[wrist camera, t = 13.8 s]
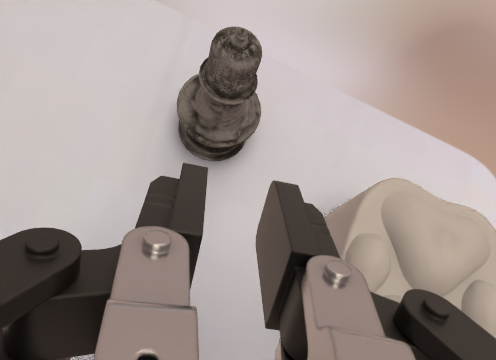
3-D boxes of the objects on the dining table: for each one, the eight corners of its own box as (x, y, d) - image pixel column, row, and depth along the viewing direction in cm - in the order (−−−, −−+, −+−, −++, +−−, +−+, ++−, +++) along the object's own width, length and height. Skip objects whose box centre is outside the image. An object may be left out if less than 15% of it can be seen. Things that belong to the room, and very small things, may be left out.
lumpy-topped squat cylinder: (444, 245, 34) (535, 220, 26) (411, 421, 29) (509, 459, 21) (325, 194, 33) (380, 152, 25) (271, 366, 28) (317, 383, 20)
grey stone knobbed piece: (223, 179, 32) (260, 102, 20) (158, 134, 32) (160, 32, 21) (264, 123, 34) (318, 25, 23) (204, 81, 34) (227, -37, 23)
